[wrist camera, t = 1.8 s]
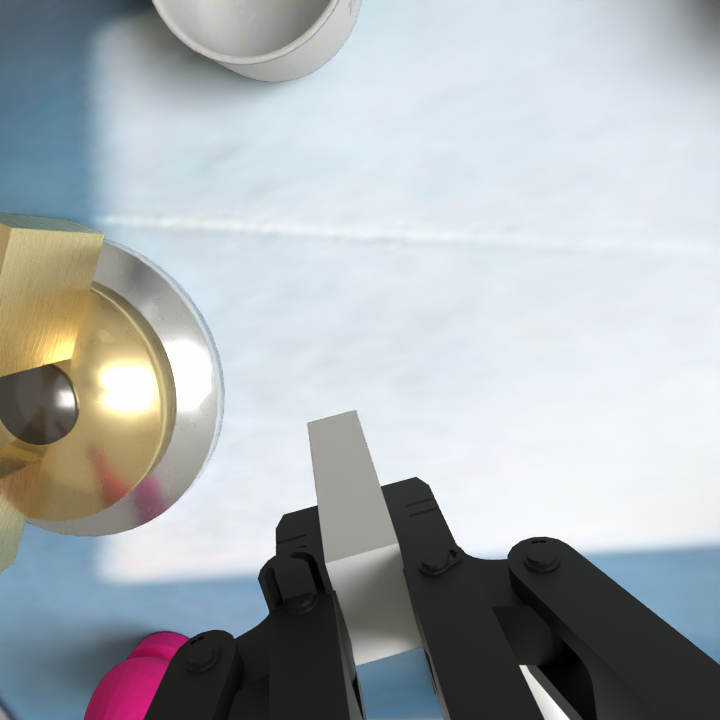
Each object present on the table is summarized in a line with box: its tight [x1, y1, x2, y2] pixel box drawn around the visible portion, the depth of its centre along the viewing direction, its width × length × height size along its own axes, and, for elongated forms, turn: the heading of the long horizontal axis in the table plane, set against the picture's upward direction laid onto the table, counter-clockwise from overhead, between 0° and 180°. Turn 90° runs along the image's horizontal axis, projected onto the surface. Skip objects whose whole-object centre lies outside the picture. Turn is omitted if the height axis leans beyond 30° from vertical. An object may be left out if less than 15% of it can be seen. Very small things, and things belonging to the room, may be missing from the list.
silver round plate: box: [26, 239, 224, 536], centre depth 42 cm, size 21×21×2 cm
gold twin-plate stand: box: [0, 213, 177, 573], centre depth 36 cm, size 18×17×10 cm
